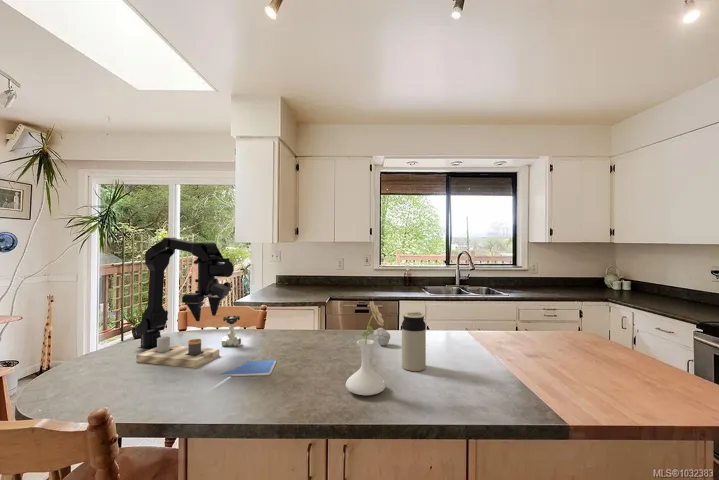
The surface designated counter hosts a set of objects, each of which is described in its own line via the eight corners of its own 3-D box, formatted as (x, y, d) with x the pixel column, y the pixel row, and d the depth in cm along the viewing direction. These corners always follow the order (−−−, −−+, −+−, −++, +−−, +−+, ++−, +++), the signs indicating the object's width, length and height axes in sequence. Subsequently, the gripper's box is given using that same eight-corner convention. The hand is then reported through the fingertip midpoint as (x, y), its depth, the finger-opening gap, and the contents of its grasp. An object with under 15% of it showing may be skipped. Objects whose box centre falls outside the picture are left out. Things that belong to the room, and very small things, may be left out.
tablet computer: (206, 379, 104) (206, 375, 104) (220, 364, 116) (220, 360, 116) (269, 377, 105) (269, 373, 105) (276, 363, 118) (276, 359, 118)
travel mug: (430, 367, 113) (430, 313, 113) (417, 374, 107) (417, 317, 107) (410, 361, 118) (410, 310, 118) (397, 367, 112) (397, 314, 113)
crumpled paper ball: (379, 341, 142) (379, 325, 142) (393, 344, 137) (393, 327, 138) (371, 345, 137) (371, 328, 137) (385, 348, 133) (385, 331, 133)
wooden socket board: (136, 363, 116) (136, 354, 116) (163, 352, 127) (163, 344, 127) (196, 369, 110) (196, 360, 110) (219, 357, 122) (219, 349, 122)
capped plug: (185, 361, 116) (185, 341, 116) (193, 357, 120) (193, 338, 120) (195, 362, 115) (195, 342, 115) (203, 358, 119) (203, 339, 119)
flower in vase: (373, 403, 87) (373, 307, 87) (337, 393, 93) (337, 303, 93) (395, 385, 98) (395, 300, 98) (362, 377, 104) (362, 297, 104)
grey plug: (154, 358, 119) (154, 339, 119) (163, 355, 123) (163, 336, 123) (163, 359, 118) (163, 340, 118) (172, 355, 122) (172, 336, 122)
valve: (236, 349, 131) (236, 319, 131) (219, 349, 131) (219, 319, 131) (242, 344, 138) (242, 315, 138) (226, 344, 138) (226, 315, 138)
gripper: (209, 279, 113) (209, 325, 113) (240, 274, 131) (239, 314, 131) (181, 278, 115) (180, 324, 115) (214, 273, 133) (214, 312, 133)
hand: (206, 318), depth 123 cm, fingers open, 9 cm apart
